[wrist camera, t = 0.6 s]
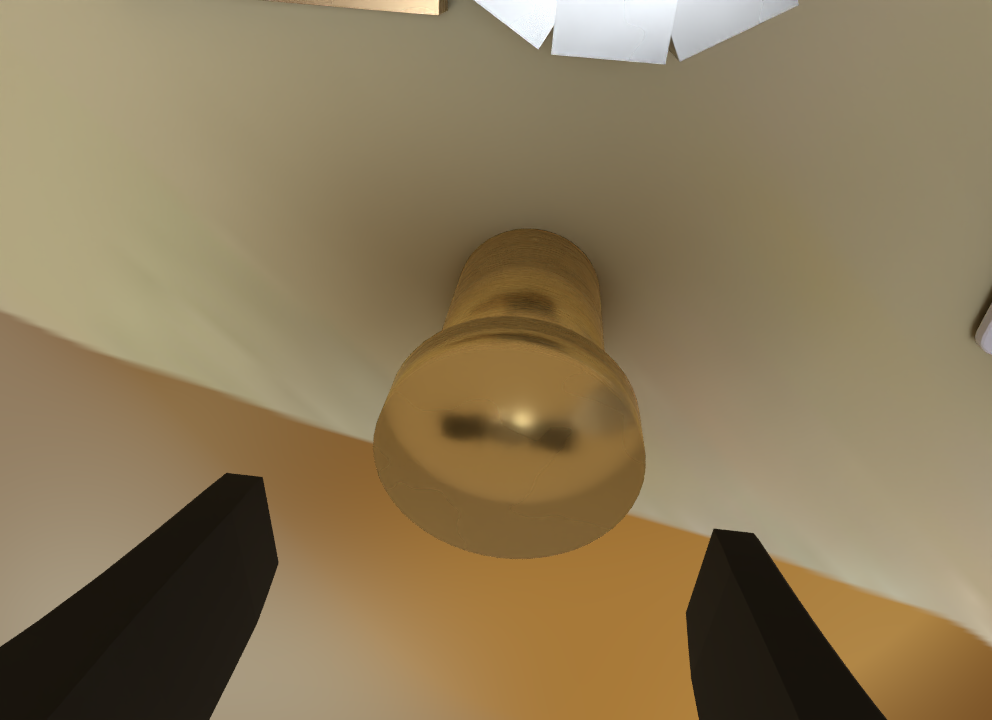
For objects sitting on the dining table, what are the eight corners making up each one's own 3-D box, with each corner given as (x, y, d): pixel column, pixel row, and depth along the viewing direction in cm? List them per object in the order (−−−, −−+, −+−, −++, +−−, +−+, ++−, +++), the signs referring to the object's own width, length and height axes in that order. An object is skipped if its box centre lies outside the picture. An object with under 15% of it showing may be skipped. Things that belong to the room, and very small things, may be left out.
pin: (637, 217, 17) (672, 367, 11) (605, 381, 20) (620, 572, 14) (439, 197, 17) (368, 333, 11) (436, 362, 20) (377, 542, 14)
